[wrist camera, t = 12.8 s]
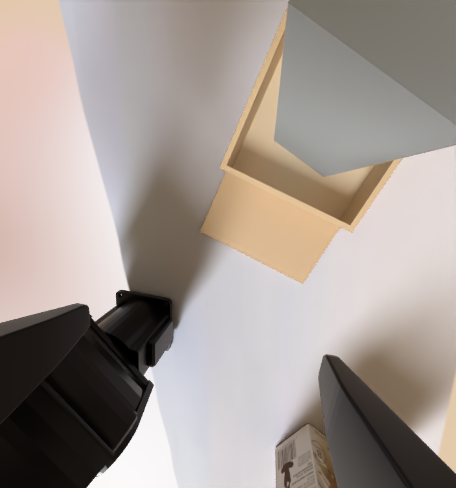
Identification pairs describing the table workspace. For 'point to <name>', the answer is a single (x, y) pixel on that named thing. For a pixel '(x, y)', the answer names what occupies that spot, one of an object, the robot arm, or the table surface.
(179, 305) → the table surface
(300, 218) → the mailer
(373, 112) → the slate block
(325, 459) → the coffee box
